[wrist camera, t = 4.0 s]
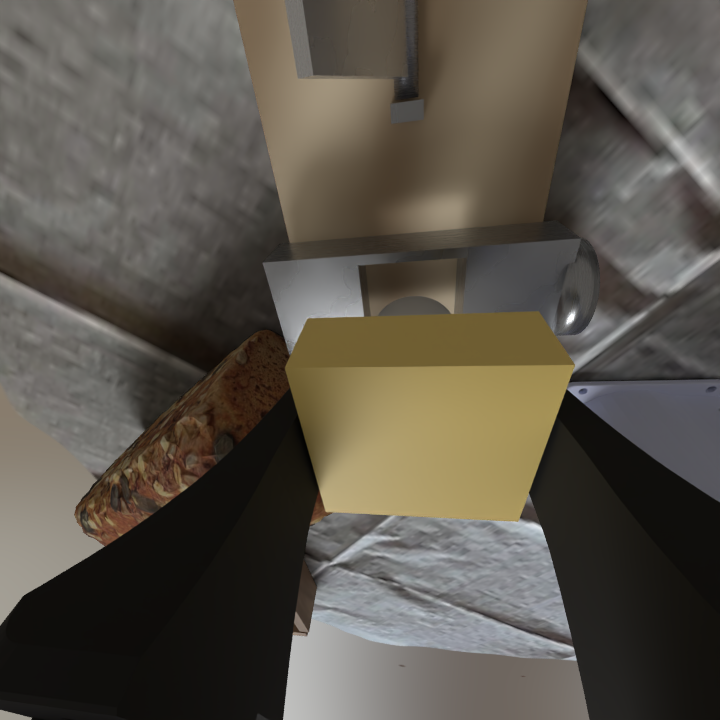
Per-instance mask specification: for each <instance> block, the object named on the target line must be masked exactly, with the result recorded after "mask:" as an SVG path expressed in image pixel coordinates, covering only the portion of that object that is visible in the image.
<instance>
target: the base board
mask: <svg viewBox="0 0 720 720" xmlns="http://www.w3.org/2000/svg"><path fill="white" fill-rule="evenodd" d="M233 1H234V5H235V10H236V14H237V18H238V23H239V27H240V31H241V36H242V40H243V44H244V48H245V53H246V57H247V61H248V66H249V70H250V74H251V79H252V83H253V87H254V91H255V96H256V100H257V104H258V109H259V113H260V117H261V122H262V126H263V130H264V134H265V139H266V143H267V147H268V152H269V156H270V160H271V165H272V169H273V173H274V177H275V182H276V186H277V190H278V195H279V199H280V203H281V208H282V212H283V216H284V220H285V225H286V229H287V233H288V238H289V242H290V243H296V242H308V241H320V240H332V239H344V238H356V237H368V236H380V235H391V234H403V233H415V232H427V231H439V230H451V229H463V228H475V227H486V226H498V225H510V224H522V223H534V222H543V220H544V215H545V210H546V205H547V200H548V195H549V190H550V185H551V180H552V175H553V170H554V165H555V160H556V155H557V150H558V146H559V141H560V136H561V131H562V126H563V121H564V116H565V111H566V106H567V101H568V96H569V91H570V86H571V81H572V76H573V71H574V66H575V61H576V56H577V52H578V47H579V42H580V37H581V32H582V27H583V22H584V17H585V12H586V7H587V2H588V0H418V81H419V97H416V98H409V99H402V100H395V98H394V79H298V77H297V71H296V65H295V59H294V53H293V47H292V41H291V35H290V30H289V24H288V18H287V12H286V6H285V0H233ZM421 99H424V120H417V121H410V122H402V123H395V124H391V111H390V104H393V103H400V102H407V101H414V100H421ZM456 272H457V258H454V259H440V260H426V261H412V262H399V263H385V264H371V265H366V275H367V284H368V294H369V303H370V313H371V316H378V314H379V313H380V312H381V311H382V309H383V308H385V307H386V306H387V305H388V304H390V303H391V302H393V301H395V300H397V299H400V298H403V297H408V296H423V297H428V298H431V299H434V300H436V301H438V302H439V303H441V304H442V305H444V306H445V307H446V308H447V309H448V310H449V312H450V313H451V314H454V304H455V288H456Z"/></svg>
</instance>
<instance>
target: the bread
mask: <svg viewBox="0 0 720 720" xmlns="http://www.w3.org/2000/svg"><path fill="white" fill-rule="evenodd" d="M289 358H290V356H289V352H288V349H287V345H286V342H285V339H284V338H283V337H281V336H280V335H278V334H276V333H274V332H272V331H270V330H262V331H258V332H256V333H254V334H253V335H252V336H251V337H249V338H248V339H247V340H246V341H244V342H243V343H242V344H241V345H240V346H239V347H238V348H237V349H235V350H234V351H232V352H231V353H230V354H229V355H228V356H227V357H225V358H224V359H223V360H222V362H221V363H220V364H219V365H217V366H216V367H215V368H214V369H213V370H210V371H209V372H208V373H207V374H206V375H205V376H204V377H203V378H202V379H201V380H200V381H198V382H197V384H196V385H195V386H194V387H192V388H191V389H189V390H188V391H187V392H186V393H185V394H184V395H183V396H182V397H181V398H180V399H179V400H177V401H176V402H175V403H174V404H173V405H172V406H171V407H170V408H169V409H168V410H167V411H166V412H164V413H162V414H161V415H160V416H159V417H158V419H157V420H156V421H155V422H154V423H153V424H151V425H150V426H149V427H148V428H147V429H146V430H145V431H144V432H143V433H142V434H141V436H140V437H138V438H137V439H136V440H135V442H134V443H133V444H132V445H131V446H130V447H129V448H127V449H126V450H125V452H124V453H123V454H122V455H121V456H120V457H119V458H118V459H116V460H115V461H114V463H113V464H112V465H111V466H110V467H109V468H108V469H107V470H106V472H105V473H104V474H103V475H102V476H101V477H100V479H99V480H97V481H96V482H95V483H94V484H93V485H92V487H91V489H90V490H89V492H88V493H87V494H86V495H85V496H84V497H83V498H82V499H81V501H80V502H79V504H78V505H77V506H76V510H75V514H74V515H75V518H76V520H77V523H78V524H79V526H81V527H82V529H83V532H84V533H85V534H86V535H88V536H89V537H92V538H94V539H96V540H97V541H99V542H100V543H101V544H103V545H104V546H107V545H108V544H110V543H111V542H113V541H114V540H116V539H117V538H119V537H120V536H122V535H123V534H125V533H126V532H128V531H129V530H131V529H132V528H134V527H135V526H136V525H138V524H139V523H141V522H142V521H144V520H145V519H147V518H148V517H149V516H151V515H152V514H154V513H155V512H156V511H158V510H159V509H160V508H162V507H163V506H164V505H166V504H167V503H168V502H170V501H171V500H172V499H173V498H175V497H176V496H177V495H179V494H180V493H181V492H183V491H184V490H185V489H187V488H188V487H189V486H191V485H192V484H193V483H194V482H196V481H197V480H198V479H199V478H200V477H202V476H203V475H204V474H205V473H206V472H207V471H209V470H210V469H211V468H212V467H213V466H214V465H216V464H217V463H218V462H219V461H220V460H221V459H222V458H223V457H225V456H226V455H227V454H228V453H229V452H230V451H231V450H232V449H233V448H234V447H235V446H236V445H237V444H238V443H239V442H240V441H241V440H242V439H243V438H244V437H245V436H246V435H247V434H248V433H249V432H250V431H251V430H252V429H253V428H254V427H255V426H256V425H257V424H258V423H259V422H260V421H261V419H262V418H263V417H264V416H265V415H266V414H267V413H268V412H269V411H270V410H271V409H272V407H273V406H274V405H275V404H276V403H277V402H278V401H279V400H280V398H281V397H282V396H283V395H284V394H285V393H286V392H287V390H288V389H289V388H290V385H289V381H288V378H287V374H286V371H285V366H286V364H287V362H288V360H289ZM332 513H334V512H326V511H325V508H324V504H323V501H322V497H321V494H320V490H319V492H318V495H317V499H316V503H315V507H314V511H313V515H312V518H311V522H310V526H313V525H314V524H315V523H317V522H319V521H321V519H322V518H323V517H324V516H328V515H330V514H332Z"/></svg>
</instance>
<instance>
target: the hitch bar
mask: <svg viewBox="0 0 720 720" xmlns="http://www.w3.org/2000/svg"><path fill="white" fill-rule="evenodd" d="M390 111H391V124H395V123H402V122H410V121H417V120H424V99H421V100H414V101H407V102H400V103H393V104H390ZM454 258H457V272H456V288H455V304H454V314H466V313H499V312H532V311H539V312H540V314H541V315H542V317H543V318H544V320H545V321H546V323H547V324H548V326H549V327H550V329H551V330H552V332H553V333H554V335H555V336H559V335H576V334H579V333H581V332H582V331H583V330H584V329H585V328H586V327H587V326H588V324H589V322H590V321H591V319H592V317H593V314H594V312H595V309H596V305H597V301H598V296H599V289H600V271H599V263H598V259H597V255H596V253H595V250H594V248H593V246H592V245H591V244H590V243H589V242H588V241H587V240H585V239H583V238H580V237H579V236H577V235H576V234H575V233H573V232H572V231H570V230H569V229H568V228H566V227H565V226H563V225H562V224H561V223H559V222H558V221H546V222H534V223H522V224H510V225H498V226H486V227H475V228H463V229H451V230H439V231H427V232H415V233H403V234H391V235H380V236H368V237H356V238H344V239H332V240H320V241H308V242H296V243H285V244H279V245H278V246H277V247H276V249H275V250H274V251H273V252H272V253H271V254H270V255H269V256H268V257H267V258H266V259H265V261H264V262H263V266H264V269H265V273H266V276H267V280H268V283H269V287H270V290H271V293H272V297H273V300H274V304H275V307H276V311H277V314H278V318H279V321H280V325H281V328H282V331H283V335H284V338H285V342H286V345H287V349H288V352H289V356H290V355H291V353H292V351H293V349H294V347H295V344H296V342H297V340H298V338H299V336H300V334H301V331H302V329H303V327H304V325H305V323H306V320H307V318H336V317H369V316H371V313H370V303H369V294H368V284H367V275H366V265H371V264H385V263H399V262H412V261H426V260H440V259H454Z"/></svg>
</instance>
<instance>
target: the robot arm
mask: <svg viewBox="0 0 720 720" xmlns="http://www.w3.org/2000/svg"><path fill="white" fill-rule="evenodd" d="M583 388H584V389H583ZM580 389H583V390H580ZM318 492H319V486H318V483H317V479H316V476H315V472H314V469H313V465H312V462H311V458H310V455H309V451H308V448H307V444H306V441H305V437H304V434H303V430H302V427H301V423H300V420H299V416H298V413H297V409H296V406H295V402H294V399H293V395H292V392H291V388H289V389H288V390H287V392H286V393H285V394H284V395H283V396H282V397H281V398H280V400H279V401H278V402H277V403H276V404H275V405H274V406H273V407H272V409H271V410H270V411H269V412H268V413H267V414H266V415H265V416H264V417H263V418H262V419H261V421H260V422H259V423H258V424H257V425H256V426H255V427H254V428H253V429H252V430H251V431H250V432H249V433H248V434H247V435H246V436H245V437H244V438H243V439H242V440H241V441H240V442H239V443H238V444H237V445H236V446H235V447H234V448H233V449H232V450H231V451H230V452H229V453H228V454H227V455H226V456H225V457H223V458H222V459H221V460H220V461H219V462H218V463H217V464H216V465H214V466H213V467H212V468H211V469H210V470H209V471H207V472H206V473H205V474H204V475H203V476H202V477H200V478H199V479H198V480H197V481H196V482H194V483H193V484H192V485H191V486H189V487H188V488H187V489H185V490H184V491H183V492H181V493H180V494H179V495H177V496H176V497H175V498H173V499H172V500H171V501H170V502H168V503H167V504H166V505H164V506H163V507H162V508H160V509H159V510H158V511H156V512H155V513H154V514H152V515H151V516H149V517H148V518H147V519H145V520H144V521H142V522H141V523H139V524H138V525H136V526H135V527H134V528H132V529H131V530H129V531H128V532H126V533H125V534H123V535H122V536H120V537H119V538H117V539H116V540H114V541H113V542H111V543H110V544H108V545H107V546H105V547H103V548H102V549H101V550H99V551H97V552H96V553H94V554H93V555H91V556H90V557H88V558H86V559H84V560H83V561H81V562H79V563H78V564H76V565H74V566H73V567H71V568H70V569H68V570H66V571H65V572H63V573H61V574H60V575H58V576H56V577H54V578H53V579H51V580H49V581H48V582H46V583H45V584H43V585H41V586H40V587H38V588H36V589H34V590H33V591H31V592H29V593H27V594H26V595H24V596H23V597H22V599H21V600H20V601H19V602H18V604H17V605H16V606H15V607H14V609H13V610H12V611H11V613H10V614H9V615H8V616H7V618H6V619H5V620H4V622H3V623H2V624H1V626H0V710H4V711H8V712H12V713H16V714H20V715H24V716H28V717H32V719H31V720H283V714H284V705H285V696H286V686H287V678H288V677H287V676H288V668H289V659H290V652H291V643H292V636H293V628H294V620H295V613H296V606H297V599H298V592H299V585H300V579H301V572H302V566H303V560H304V554H305V547H306V541H307V536H308V531H309V527H310V522H311V518H312V515H313V511H314V507H315V503H316V499H317V495H318ZM529 494H530V497H531V500H532V502H533V505H534V508H535V510H536V513H537V516H538V518H539V521H540V524H541V526H542V529H543V532H544V535H545V538H546V541H547V544H548V547H549V550H550V554H551V558H552V561H553V565H554V569H555V573H556V576H557V580H558V584H559V588H560V591H561V596H562V600H563V604H564V608H565V612H566V616H567V620H568V624H569V628H570V632H571V636H572V641H573V645H574V649H575V654H576V658H577V662H578V667H579V671H580V676H581V681H582V685H583V689H584V694H585V699H586V704H587V709H588V714H589V719H590V720H720V379H708V380H653V381H598V382H571V383H568V386H567V389H566V392H565V394H564V397H563V400H562V403H561V405H560V408H559V411H558V414H557V416H556V419H555V422H554V425H553V427H552V430H551V433H550V436H549V438H548V441H547V444H546V447H545V449H544V452H543V455H542V458H541V461H540V463H539V466H538V469H537V472H536V474H535V477H534V480H533V483H532V485H531V488H530V491H529Z"/></svg>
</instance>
